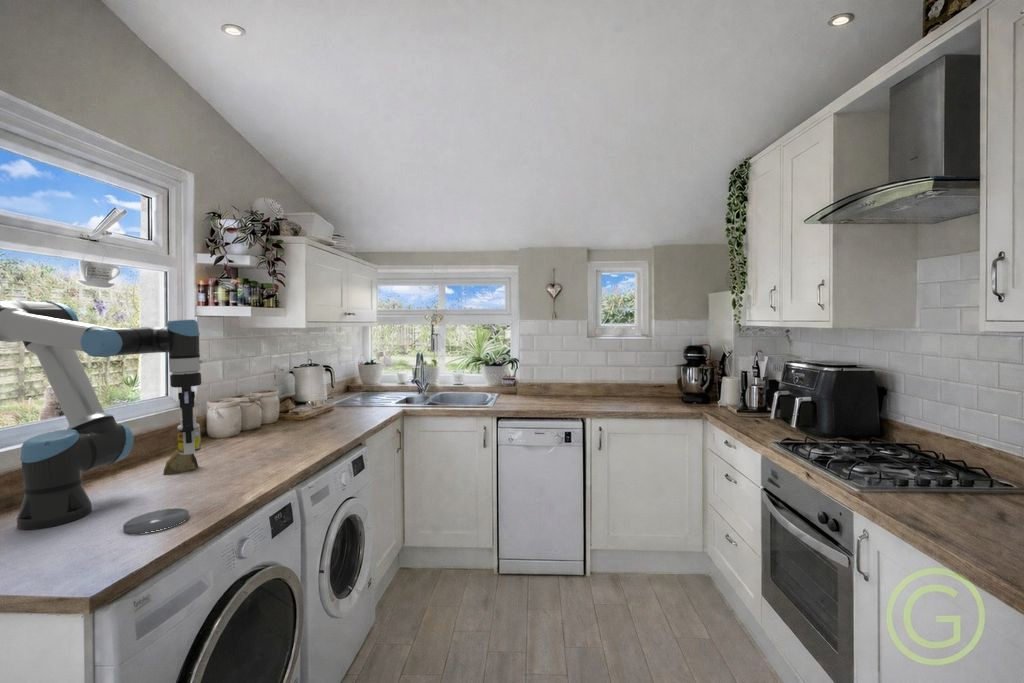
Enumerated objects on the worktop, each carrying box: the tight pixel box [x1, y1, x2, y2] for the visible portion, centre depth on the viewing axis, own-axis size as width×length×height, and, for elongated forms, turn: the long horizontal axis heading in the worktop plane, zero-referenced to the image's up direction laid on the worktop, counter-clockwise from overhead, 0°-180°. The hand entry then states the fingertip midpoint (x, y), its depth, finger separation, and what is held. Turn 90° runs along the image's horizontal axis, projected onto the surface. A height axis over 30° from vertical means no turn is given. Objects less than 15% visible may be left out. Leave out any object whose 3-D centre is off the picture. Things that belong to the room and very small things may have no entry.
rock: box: [162, 448, 199, 475], centre depth 178 cm, size 10×8×10 cm
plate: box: [122, 507, 190, 535], centre depth 130 cm, size 14×14×1 cm
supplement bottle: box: [176, 416, 202, 455], centre depth 143 cm, size 6×6×10 cm
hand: (189, 451), depth 143 cm, fingers closed on supplement bottle, 6 cm apart
